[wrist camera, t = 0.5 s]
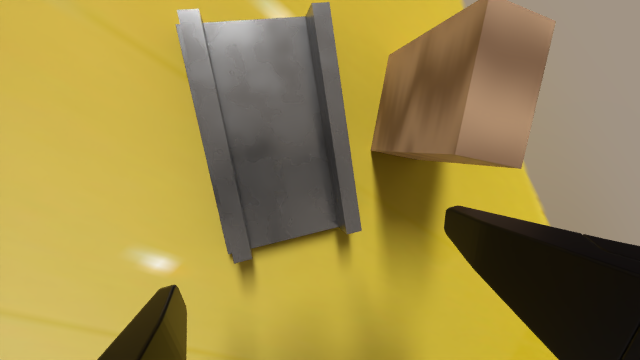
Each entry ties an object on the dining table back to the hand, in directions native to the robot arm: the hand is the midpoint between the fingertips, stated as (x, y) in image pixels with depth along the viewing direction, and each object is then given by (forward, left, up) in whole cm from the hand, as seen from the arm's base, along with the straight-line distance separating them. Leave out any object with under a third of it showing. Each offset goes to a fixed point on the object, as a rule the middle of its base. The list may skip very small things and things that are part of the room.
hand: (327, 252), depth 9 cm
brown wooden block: (+2, -12, -14) cm, 19 cm away
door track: (+4, -1, -14) cm, 14 cm away
